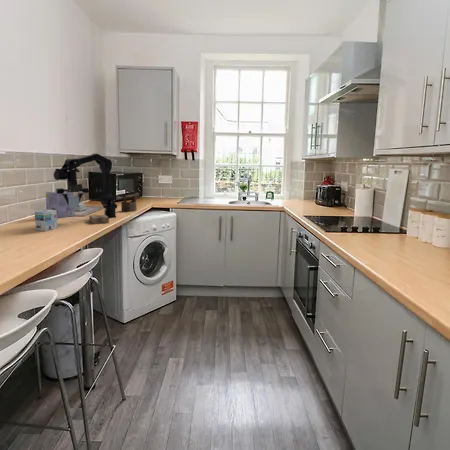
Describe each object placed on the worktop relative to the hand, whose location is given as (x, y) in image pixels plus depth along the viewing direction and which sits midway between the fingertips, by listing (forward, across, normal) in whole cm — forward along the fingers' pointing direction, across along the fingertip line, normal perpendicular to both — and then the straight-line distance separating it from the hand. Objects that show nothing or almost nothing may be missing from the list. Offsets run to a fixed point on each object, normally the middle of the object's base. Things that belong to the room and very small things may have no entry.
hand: (73, 204), depth 230 cm
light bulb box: (+12, -18, -16) cm, 27 cm away
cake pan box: (+12, -3, +24) cm, 27 cm away
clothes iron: (+12, +49, +34) cm, 61 cm away
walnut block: (+12, +14, -6) cm, 19 cm away
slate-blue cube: (+1, 0, 0) cm, 1 cm away
